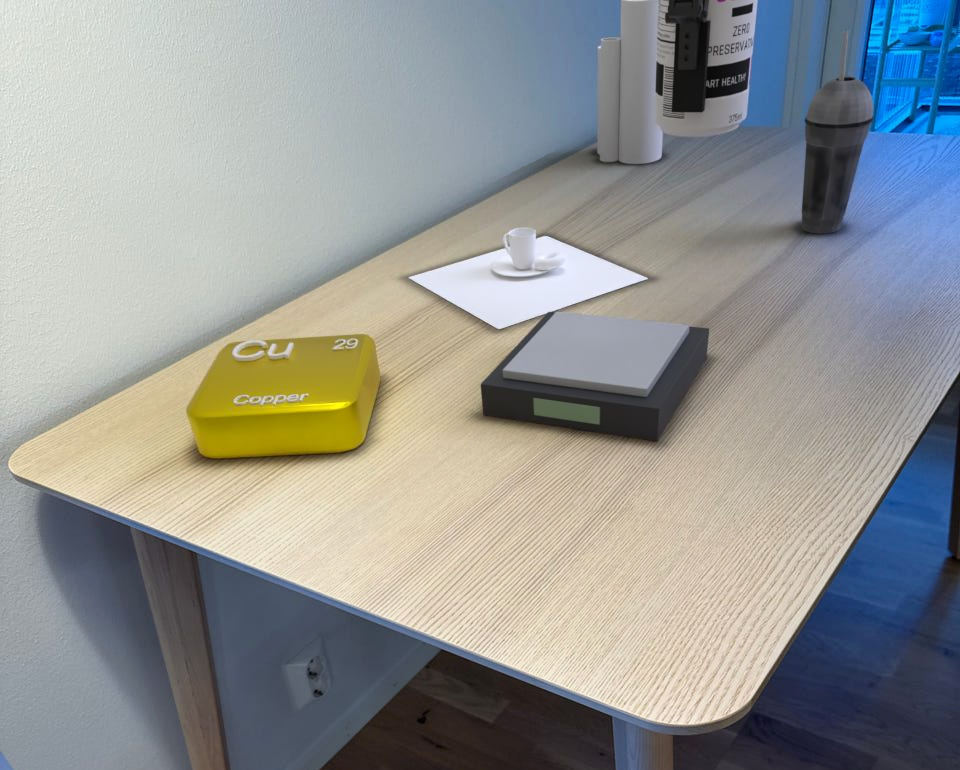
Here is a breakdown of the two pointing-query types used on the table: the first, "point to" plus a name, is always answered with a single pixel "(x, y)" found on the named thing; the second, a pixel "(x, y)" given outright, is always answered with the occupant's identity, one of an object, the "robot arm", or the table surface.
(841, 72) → the beverage cup
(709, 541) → the table surface
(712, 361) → the table surface
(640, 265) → the table surface
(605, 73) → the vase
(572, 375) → the scale
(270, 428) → the element tile
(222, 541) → the table surface
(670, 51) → the white drink can
